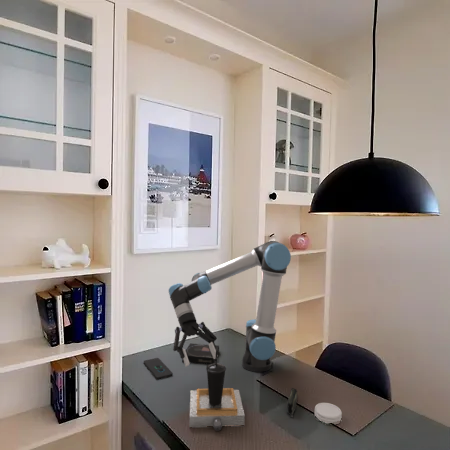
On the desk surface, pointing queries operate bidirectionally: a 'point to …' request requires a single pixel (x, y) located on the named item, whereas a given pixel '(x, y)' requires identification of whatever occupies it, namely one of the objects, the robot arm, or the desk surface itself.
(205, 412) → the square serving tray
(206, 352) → the portable cd player
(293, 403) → the mobile phone
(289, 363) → the desk surface
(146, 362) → the smart home device
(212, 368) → the drinking cup
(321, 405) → the coaster
